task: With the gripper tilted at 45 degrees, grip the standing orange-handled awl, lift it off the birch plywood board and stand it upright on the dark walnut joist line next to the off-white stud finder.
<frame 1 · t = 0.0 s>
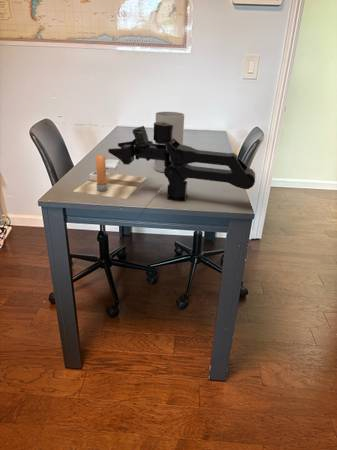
hand: (113, 147, 125), 17 cm above the table, tool horizontal, fingers open, 9 cm apart
subfloor board: (112, 187, 134), on the table
awl: (102, 189, 127), point 1 cm above the table, touching subfloor board
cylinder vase: (167, 169, 158), on the table
stud finder: (98, 179, 137), point 2 cm above the table, touching subfloor board
hard drive: (109, 166, 160), on the table
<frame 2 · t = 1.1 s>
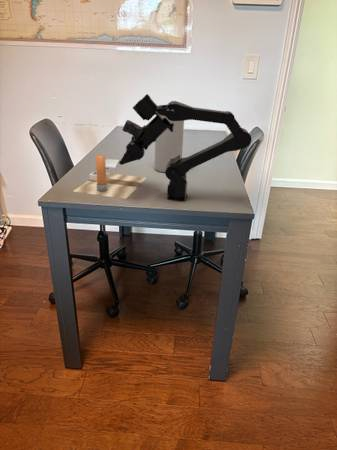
hand: (122, 160, 122), 13 cm above the table, tool tilted 45°, fingers open, 9 cm apart
nothing on the table moved.
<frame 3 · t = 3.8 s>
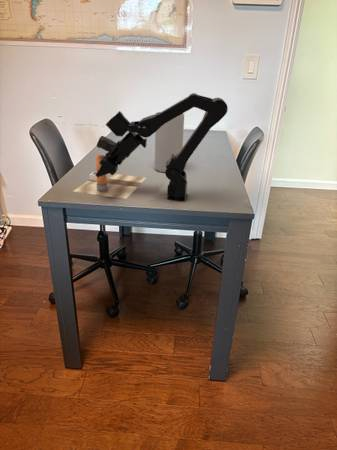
hand: (97, 174, 124), 8 cm above the table, tool tilted 45°, fingers closed on awl, 3 cm apart
awl: (102, 189, 127), point 2 cm above the table, touching gripper, subfloor board
everything else where it was.
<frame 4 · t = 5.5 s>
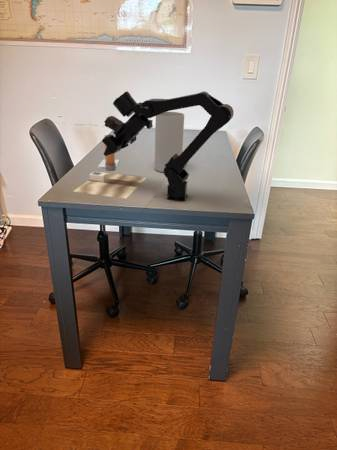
hand: (106, 153, 128), 13 cm above the table, tool tilted 45°, fingers closed on awl, 3 cm apart
awl: (110, 169, 131), point 7 cm above the table, touching gripper
everything else where it was.
when the fingers open (9 cm above the table, at t = 7.0 s): awl drops 1 cm, resting on subfloor board.
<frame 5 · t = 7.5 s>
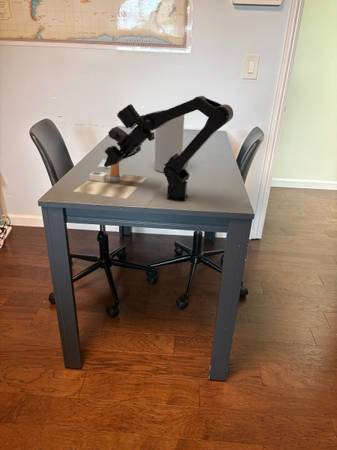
hand: (111, 163, 133), 9 cm above the table, tool tilted 45°, fingers open, 9 cm apart
awl: (115, 181, 136), point 2 cm above the table, touching subfloor board
everything else where it was.
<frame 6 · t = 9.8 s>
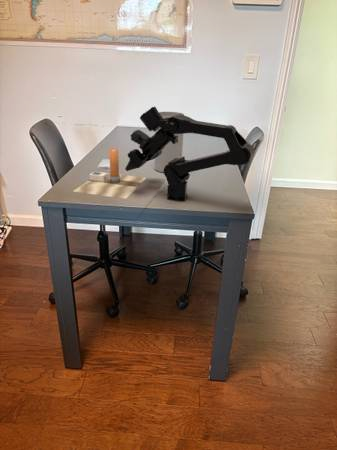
hand: (131, 166, 130), 9 cm above the table, tool tilted 45°, fingers open, 9 cm apart
nothing on the table moved.
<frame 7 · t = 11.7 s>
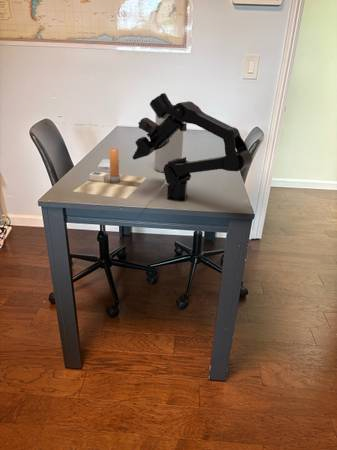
hand: (139, 155, 127), 14 cm above the table, tool tilted 45°, fingers open, 9 cm apart
nothing on the table moved.
at the end: awl inside the target area (0.4 cm from its centre), point 1.6 cm above the table; awl tilted 0°; the gripper is holding nothing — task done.
